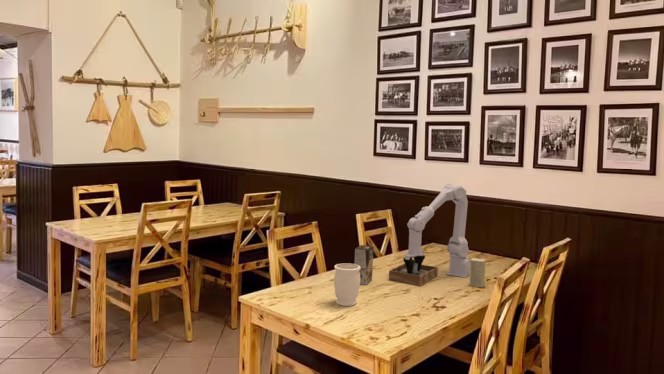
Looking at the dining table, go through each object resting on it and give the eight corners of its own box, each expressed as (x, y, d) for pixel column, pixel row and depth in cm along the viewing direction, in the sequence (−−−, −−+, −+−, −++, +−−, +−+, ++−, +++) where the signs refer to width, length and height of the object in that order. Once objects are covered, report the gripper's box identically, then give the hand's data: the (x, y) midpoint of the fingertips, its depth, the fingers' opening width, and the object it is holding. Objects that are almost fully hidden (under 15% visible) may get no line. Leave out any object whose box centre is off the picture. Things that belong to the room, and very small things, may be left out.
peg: (411, 276, 254) (412, 262, 253) (418, 278, 252) (419, 263, 251) (407, 278, 251) (408, 263, 251) (414, 279, 249) (414, 265, 248)
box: (406, 270, 264) (407, 262, 264) (437, 276, 256) (437, 267, 255) (388, 280, 247) (389, 270, 247) (420, 286, 239) (421, 276, 238)
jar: (350, 309, 206) (352, 271, 204) (328, 303, 211) (329, 266, 210) (364, 302, 215) (365, 265, 213) (342, 297, 220) (343, 261, 219)
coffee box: (367, 285, 238) (368, 250, 236) (353, 283, 240) (354, 248, 238) (372, 280, 246) (373, 246, 245) (359, 278, 248) (360, 244, 247)
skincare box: (484, 285, 243) (486, 259, 242) (482, 288, 239) (484, 261, 238) (470, 283, 246) (472, 257, 245) (468, 285, 242) (470, 259, 241)
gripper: (415, 247, 241) (413, 276, 243) (429, 242, 253) (428, 270, 254) (401, 245, 246) (400, 273, 247) (416, 240, 257) (415, 267, 259)
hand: (413, 272), depth 251 cm, fingers open, 7 cm apart
